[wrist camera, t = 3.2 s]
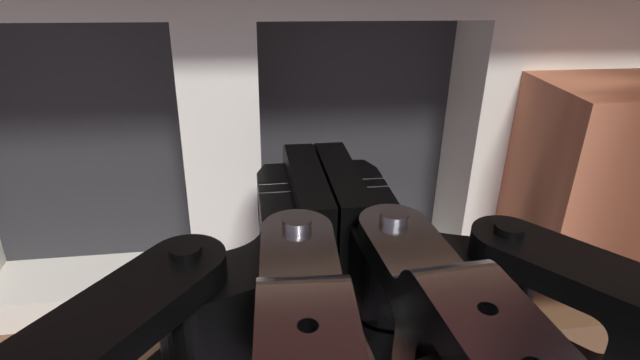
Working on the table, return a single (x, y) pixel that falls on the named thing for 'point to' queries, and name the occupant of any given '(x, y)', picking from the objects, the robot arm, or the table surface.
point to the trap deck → (259, 118)
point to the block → (577, 156)
